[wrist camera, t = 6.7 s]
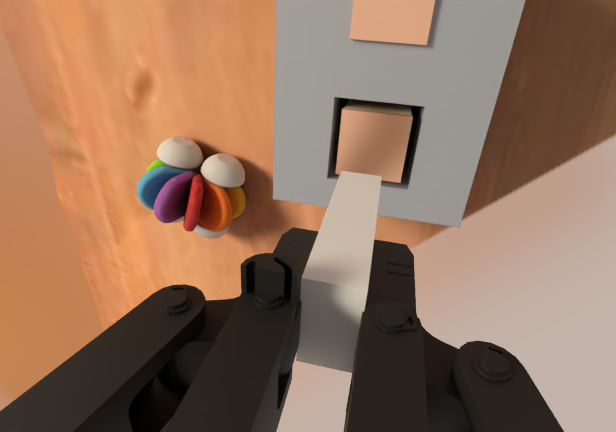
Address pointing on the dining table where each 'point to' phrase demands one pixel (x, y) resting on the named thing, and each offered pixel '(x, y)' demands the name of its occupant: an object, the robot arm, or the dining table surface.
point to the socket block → (390, 93)
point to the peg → (374, 138)
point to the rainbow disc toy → (193, 188)
